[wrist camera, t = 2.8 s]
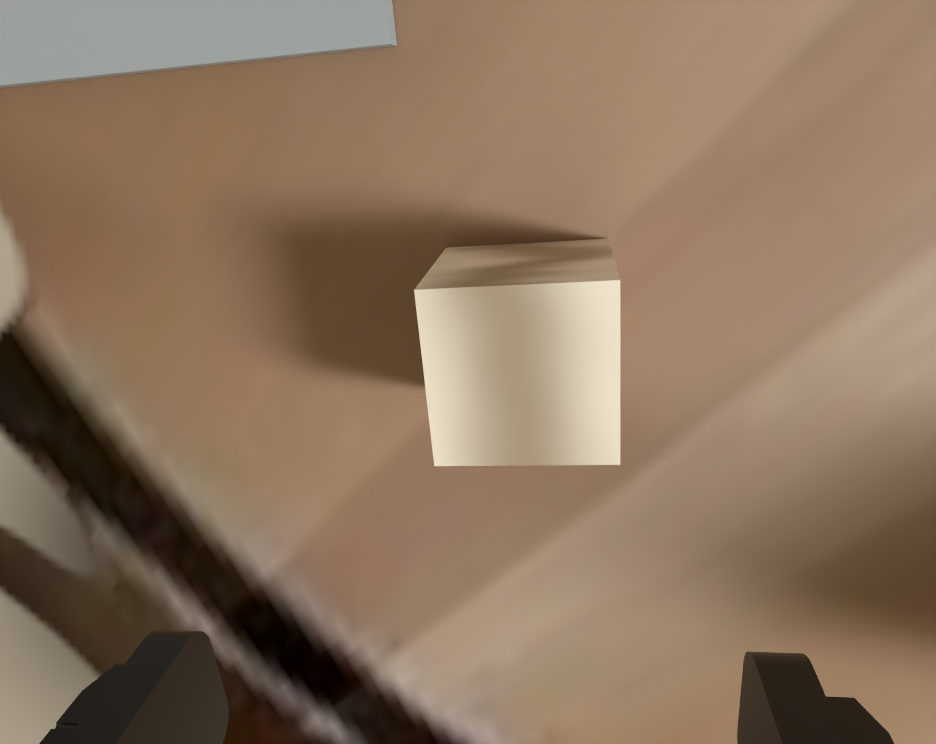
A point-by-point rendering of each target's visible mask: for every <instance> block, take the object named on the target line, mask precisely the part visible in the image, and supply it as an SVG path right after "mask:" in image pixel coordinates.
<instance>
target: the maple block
mask: <svg viewBox="0 0 936 744" xmlns="http://www.w3.org/2000/svg"><path fill="white" fill-rule="evenodd" d="M414 294H415V302H416V311H417V320H418V328H419V337H420V345H421V354H422V363H423V371H424V380H425V388H426V397H427V406H428V414H429V423H430V432H431V440H432V449H433V457H434V466H513V465H620V278H619V274H618V271H617V267H616V264H615V261H614V257H613V254H612V250H611V247H610V243H609V240H608V239H591V240H574V241H556V242H538V243H520V244H503V245H485V246H467V247H449V248H445V250H444V251H443V252H442V254H441V255H440V256H439V258H438V259H437V260H436V262H435V263H434V264H433V266H432V267H431V268H430V269H429V271H428V272H427V273H426V275H425V276H424V277H423V279H422V280H421V281H420V283H419V284H418V285H417V287H416V288H415V289H414Z"/></svg>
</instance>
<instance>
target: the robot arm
mask: <svg viewBox="0 0 936 744" xmlns="http://www.w3.org/2000/svg"><path fill="white" fill-rule="evenodd" d="M227 724H228V703H227V699H226V695H225V691H224V688H223V684H222V681H221V677H220V674H219V670H218V667H217V663H216V660H215V656H214V652H213V649H212V645H211V642H210V639H209V637H208V636H207V634H206V633H204V632H201V631H174V630H156V631H153V632H151V633H150V634H149V635H147V636H146V638H145V639H144V640H143V641H142V643H141V644H140V645H139V646H138V648H137V649H136V650H135V652H134V653H133V654H132V655H131V657H130V658H129V659H128V661H127V662H126V663H125V665H119V664H116V665H115V666H113V667H112V668H111V669H110V670H108V671H107V672H106V673H104V674H103V675H102V676H101V677H99V678H98V679H97V680H95V681H94V682H93V683H92V684H90V685H89V686H88V687H87V688H85V689H84V690H83V691H82V692H81V693H80V694H79V695H78V697H77V698H76V699H75V701H73V703H72V704H71V705H70V707H69V708H68V709H67V710H66V711H65V713H64V714H63V715H62V716H61V718H60V719H59V720H58V721H57V725H56V728H55V729H51V730H50V731H49V732H48V734H47V735H46V736H45V737H44V739H43V740H42V741H41V742H40V744H222V743H223V740H224V737H225V734H226V730H227ZM737 740H738V744H894V742H893V740H892V738H891V736H890V734H889V733H888V732H887V731H886V730H885V729H884V728H883V727H882V726H881V725H880V724H879V723H878V722H877V721H876V720H875V719H874V718H873V717H872V716H871V714H870V713H869V712H868V711H867V710H866V709H865V708H864V707H863V706H862V705H861V704H860V703H859V702H858V701H857V700H856V699H855V698H846V697H826V696H825V694H824V691H823V689H822V687H821V684H820V682H819V680H818V677H817V675H816V673H815V671H814V668H813V666H812V664H811V662H810V660H809V658H808V657H807V656H806V655H805V654H800V653H770V652H747V653H746V654H745V657H744V663H743V674H742V685H741V697H740V708H739V719H738V732H737Z"/></svg>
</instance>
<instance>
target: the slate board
mask: <svg viewBox="0 0 936 744" xmlns="http://www.w3.org/2000/svg"><path fill="white" fill-rule="evenodd" d="M392 46H397V41H396V32H395V23H394V14H393V5H392V0H0V88H5V87H15V86H24V85H34V84H43V83H52V82H62V81H71V80H81V79H90V78H100V77H109V76H119V75H128V74H137V73H147V72H156V71H166V70H175V69H185V68H194V67H204V66H213V65H222V64H232V63H241V62H251V61H260V60H270V59H279V58H289V57H298V56H307V55H317V54H326V53H336V52H345V51H355V50H364V49H374V48H383V47H392Z"/></svg>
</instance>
